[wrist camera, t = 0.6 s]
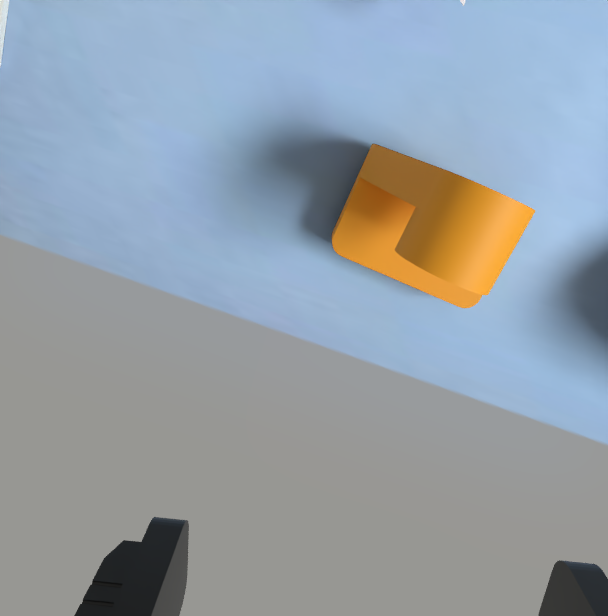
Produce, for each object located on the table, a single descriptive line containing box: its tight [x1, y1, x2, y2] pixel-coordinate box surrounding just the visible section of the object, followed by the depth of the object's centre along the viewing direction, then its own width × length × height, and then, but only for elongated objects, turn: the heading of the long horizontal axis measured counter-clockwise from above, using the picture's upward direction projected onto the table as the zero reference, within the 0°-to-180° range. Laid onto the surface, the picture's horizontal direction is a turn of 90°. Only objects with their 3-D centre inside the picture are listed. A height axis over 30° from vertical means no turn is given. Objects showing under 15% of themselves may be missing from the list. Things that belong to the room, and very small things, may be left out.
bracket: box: [332, 144, 535, 308], centre depth 31 cm, size 11×7×12 cm, turn 67°
